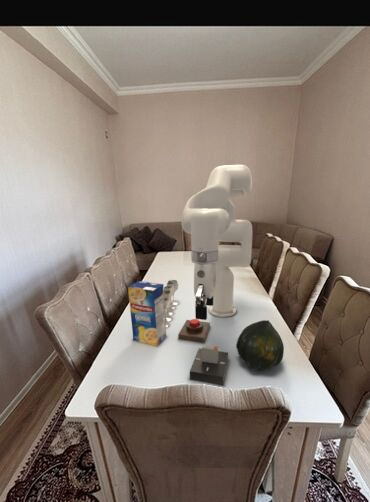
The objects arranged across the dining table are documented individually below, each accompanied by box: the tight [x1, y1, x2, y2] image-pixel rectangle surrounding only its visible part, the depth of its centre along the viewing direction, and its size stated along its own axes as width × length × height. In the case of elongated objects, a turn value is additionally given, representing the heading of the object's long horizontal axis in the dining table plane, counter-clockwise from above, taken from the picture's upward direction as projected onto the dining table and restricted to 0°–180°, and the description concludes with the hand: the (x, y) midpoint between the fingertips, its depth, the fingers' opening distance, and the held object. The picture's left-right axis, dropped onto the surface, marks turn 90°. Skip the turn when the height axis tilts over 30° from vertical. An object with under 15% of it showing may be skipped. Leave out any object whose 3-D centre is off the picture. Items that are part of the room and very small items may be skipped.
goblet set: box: [164, 279, 179, 329], centre depth 115 cm, size 28×6×13 cm, turn 172°
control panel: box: [189, 347, 229, 386], centre depth 79 cm, size 12×10×3 cm
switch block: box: [177, 319, 211, 344], centre depth 100 cm, size 12×10×4 cm
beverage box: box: [127, 280, 167, 347], centre depth 94 cm, size 7×11×22 cm, turn 65°
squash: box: [235, 319, 285, 371], centre depth 80 cm, size 14×15×15 cm
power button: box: [189, 318, 200, 327], centre depth 99 cm, size 4×4×2 cm
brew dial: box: [201, 344, 219, 364], centre depth 78 cm, size 5×2×5 cm, turn 74°
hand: (204, 311), depth 75 cm, fingers open, 9 cm apart
